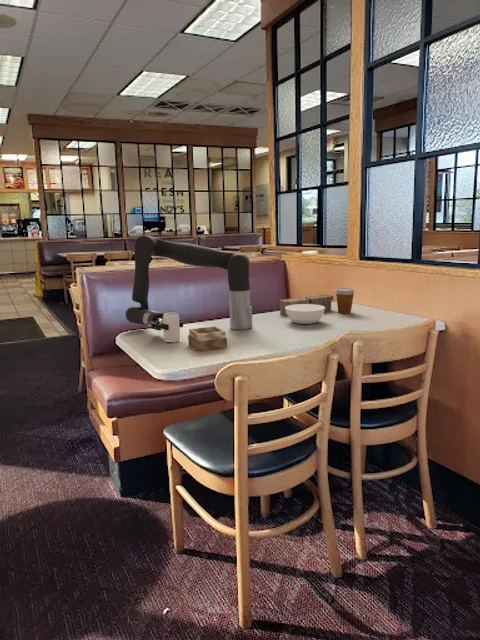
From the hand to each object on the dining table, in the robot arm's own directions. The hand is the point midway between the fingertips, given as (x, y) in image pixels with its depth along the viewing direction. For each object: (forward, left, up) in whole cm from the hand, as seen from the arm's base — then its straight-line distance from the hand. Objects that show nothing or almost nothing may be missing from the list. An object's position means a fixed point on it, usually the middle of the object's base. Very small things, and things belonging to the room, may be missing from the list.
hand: (174, 326), depth 196 cm
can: (+1, -2, -7) cm, 7 cm away
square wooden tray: (-9, +13, -3) cm, 16 cm away
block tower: (-78, -28, -7) cm, 83 cm away
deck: (-9, +13, -7) cm, 17 cm away
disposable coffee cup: (-93, -17, -7) cm, 95 cm away
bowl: (-64, -7, -7) cm, 65 cm away
